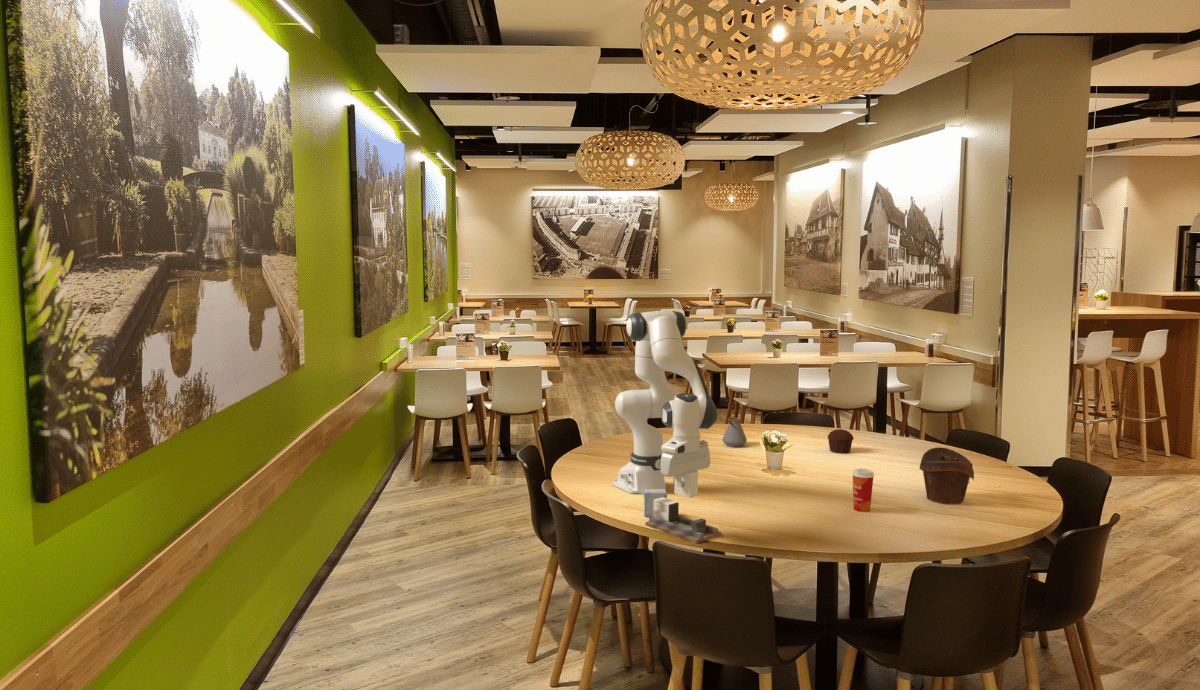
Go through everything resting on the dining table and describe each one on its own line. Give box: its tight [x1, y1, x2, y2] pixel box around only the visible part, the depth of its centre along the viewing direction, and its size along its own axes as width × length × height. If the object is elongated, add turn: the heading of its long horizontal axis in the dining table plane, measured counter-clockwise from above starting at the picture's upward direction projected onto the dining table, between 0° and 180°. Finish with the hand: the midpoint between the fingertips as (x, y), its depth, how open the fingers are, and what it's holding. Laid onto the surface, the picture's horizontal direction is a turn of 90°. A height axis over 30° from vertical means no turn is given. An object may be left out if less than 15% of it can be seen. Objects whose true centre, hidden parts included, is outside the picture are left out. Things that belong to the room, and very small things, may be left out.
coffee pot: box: [721, 417, 747, 448], centre depth 380 cm, size 21×12×15 cm, turn 161°
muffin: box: [827, 428, 854, 455], centre depth 373 cm, size 12×11×10 cm
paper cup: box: [851, 468, 875, 513], centre depth 289 cm, size 8×8×14 cm
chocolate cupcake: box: [919, 446, 975, 505], centre depth 300 cm, size 18×20×18 cm
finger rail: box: [645, 497, 723, 544], centre depth 267 cm, size 23×12×8 cm, turn 41°
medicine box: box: [642, 489, 668, 518], centre depth 283 cm, size 8×4×9 cm, turn 92°
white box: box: [673, 470, 699, 499], centre depth 265 cm, size 4×8×8 cm, turn 41°
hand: (685, 485), depth 265 cm, fingers closed on white box, 4 cm apart
